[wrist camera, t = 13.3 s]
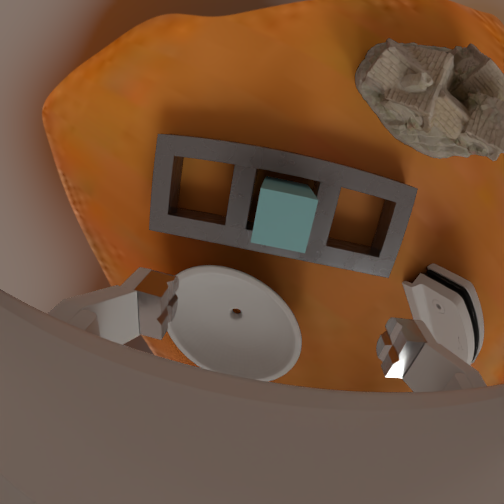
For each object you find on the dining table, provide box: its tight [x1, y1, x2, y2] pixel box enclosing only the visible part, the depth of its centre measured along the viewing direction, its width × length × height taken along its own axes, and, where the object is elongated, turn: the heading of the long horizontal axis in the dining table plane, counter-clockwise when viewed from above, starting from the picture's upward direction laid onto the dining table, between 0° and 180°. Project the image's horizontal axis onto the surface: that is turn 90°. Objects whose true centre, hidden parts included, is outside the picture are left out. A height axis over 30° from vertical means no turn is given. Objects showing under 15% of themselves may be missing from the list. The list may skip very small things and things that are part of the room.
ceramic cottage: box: [355, 38, 504, 161], centre depth 15 cm, size 16×16×15 cm
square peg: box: [251, 176, 318, 253], centre depth 25 cm, size 4×4×8 cm
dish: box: [167, 265, 302, 382], centre depth 32 cm, size 18×14×5 cm
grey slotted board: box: [149, 134, 418, 278], centre depth 27 cm, size 10×26×3 cm, turn 80°
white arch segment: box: [402, 263, 484, 365], centre depth 28 cm, size 17×5×10 cm, turn 32°
